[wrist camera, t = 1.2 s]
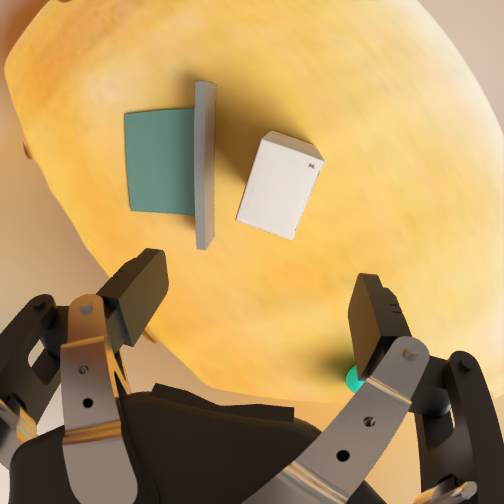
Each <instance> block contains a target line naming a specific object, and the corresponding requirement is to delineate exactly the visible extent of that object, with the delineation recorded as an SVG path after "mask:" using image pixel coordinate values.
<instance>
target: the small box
mask: <svg viewBox="0 0 504 504" xmlns="http://www.w3.org/2000/svg"><path fill="white" fill-rule="evenodd" d="M324 162H325V161H324V159H323V157H322V156H321V154H320V153H319V151H318V150H317V148H316V146H314V145H312V144H309V143H306V142H304V141H301V140H298V139H296V138H293V137H290V136H287V135H284V134H281V133H278V132H276V131H272V130H271V131H270V132H269V133H268V134H266V135H265V136H264V137H263V138H261V140H260V143H259V146H258V149H257V152H256V155H255V158H254V161H253V164H252V167H251V171H250V174H249V177H248V180H247V183H246V186H245V189H244V193H243V196H242V199H241V202H240V206H239V209H238V212H237V215H236V219H235V220H236V221H239V222H242V223H245V224H248V225H250V226H253V227H256V228H259V229H262V230H264V231H267V232H270V233H273V234H275V235H278V236H281V237H284V238H286V239H289V240H293V238H294V235H295V232H296V229H297V226H298V224H299V221H300V219H301V216H302V214H303V212H304V209H305V207H306V204H307V202H308V199H309V197H310V195H311V192H312V190H313V187H314V185H315V182H316V180H317V178H318V175H319V173H320V171H321V169H322V167H323V164H324Z"/></svg>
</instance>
